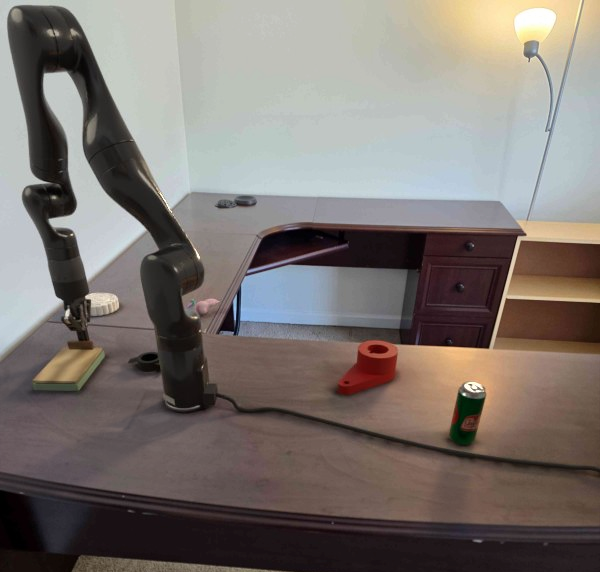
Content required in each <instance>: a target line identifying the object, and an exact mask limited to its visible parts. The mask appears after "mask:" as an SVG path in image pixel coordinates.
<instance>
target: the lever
mask: <svg viewBox="0 0 600 572" xmlns="http://www.w3.org/2000/svg"><path fill="white" fill-rule="evenodd" d="M356 355H357V357H356V362H355V363H354V364H353V366H351V368H349V369H348V371H346V373H344V374H343V376H342V377H341V378H339V380H338V381H337V392H338V394H339V395H343V396H349V395H352V394H355V393H359V392H362V391H364V390H368V389H371V388H374V387H376V386H380V385H383V384H386V383H389V382H391V381H393V380H394V379H395V377H396V371H397V362H398V355H399V349H398V347H397V346H396V345H394V344H393V343H391V342H388V341H384V340H376V339H375V340H367V341H363V342H361V343H360V344H359V345H358V347H357V354H356Z"/></svg>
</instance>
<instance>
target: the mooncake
mask: <svg viewBox="0 0 600 572" xmlns="http://www.w3.org/2000/svg"><path fill="white" fill-rule="evenodd" d="M85 298H86V299H91V314H90V317H101V316H107V315H109V314H113V313H114V312H116V311H118V309H119V308H120V303H119V298H118V296H117V295H116V294H113V293H111V292H101V291H100V292H92V293H89V294H88V295H87V296H85Z"/></svg>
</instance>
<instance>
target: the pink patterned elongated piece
mask: <svg viewBox="0 0 600 572" xmlns="http://www.w3.org/2000/svg"><path fill="white" fill-rule="evenodd" d="M220 302H221V301H220V300H218V299H216V298H207V299H205V300H200V301H198V302H196V301H195V300H194V299H193V298H192V299H190V300H189V303H188V304H187V307H186V308H187V309H190V308H193V307H194V309H193V310H194V311H196V312H197V313H198V314H199V316H204V315H205V314H206V313H207V312H208V311H209V310H210V308H212V307H213V306H214V305H216V304H217V303H220Z"/></svg>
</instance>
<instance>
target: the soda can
mask: <svg viewBox="0 0 600 572" xmlns="http://www.w3.org/2000/svg"><path fill="white" fill-rule="evenodd" d="M486 398H487V392H486V387H485V385H484V384H481V383H480V382H476V381H465V382H462V384H461V386H460V387H459V388H458V390H457V394H456V398H455V404H454V409H453V412H452V417H451V418H452V419H451V421H450V427H449V431H448V437H449V439H450V440H451V441H452V442H453V443H454V444H456V445H459V446H469V445H472V444H473V443H475V441H476V437H477V434H478V430H479V426H480V423H481V418H482V413H483V411H484V410H483V409H484V407H485V403H486Z"/></svg>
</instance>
